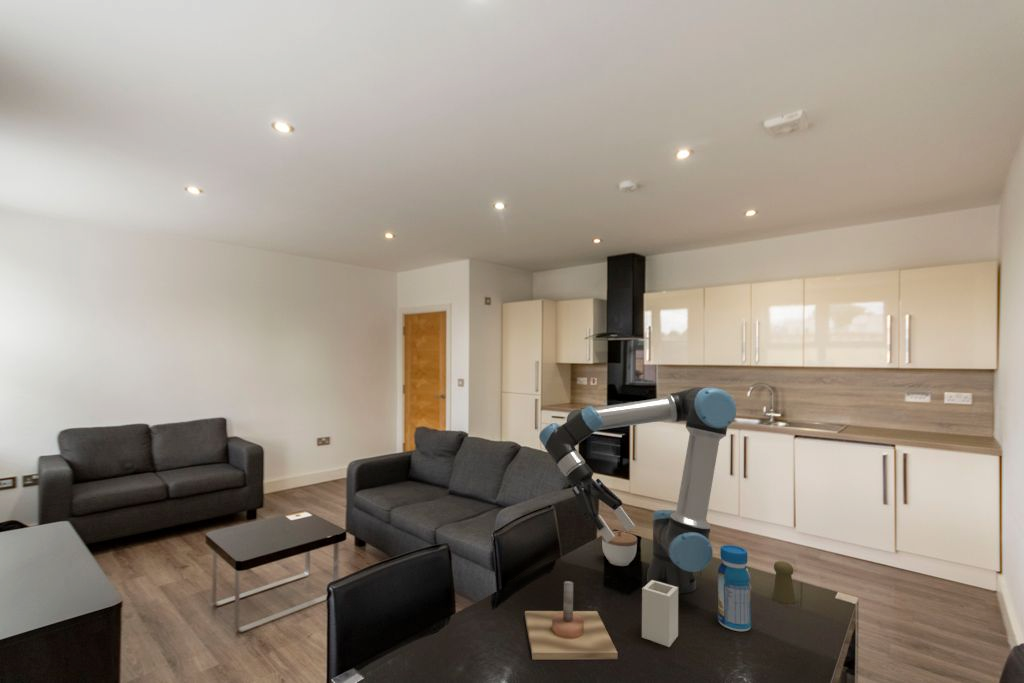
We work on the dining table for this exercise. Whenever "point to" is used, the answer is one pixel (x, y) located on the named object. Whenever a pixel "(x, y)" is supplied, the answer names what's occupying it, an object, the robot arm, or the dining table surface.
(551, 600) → the dining table surface
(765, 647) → the dining table surface
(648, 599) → the sleeve
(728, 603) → the beverage bottle
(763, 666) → the dining table surface
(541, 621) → the post board
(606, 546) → the white lidded jar
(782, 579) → the olive pepper shaker
